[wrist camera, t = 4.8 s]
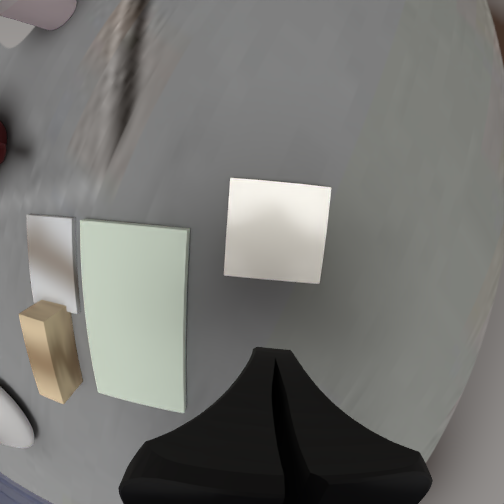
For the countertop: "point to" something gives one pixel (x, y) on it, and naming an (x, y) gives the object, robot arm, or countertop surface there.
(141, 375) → the mat
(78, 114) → the countertop surface
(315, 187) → the tile
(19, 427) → the flower in vase
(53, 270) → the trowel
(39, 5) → the smoothie
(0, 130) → the mug
